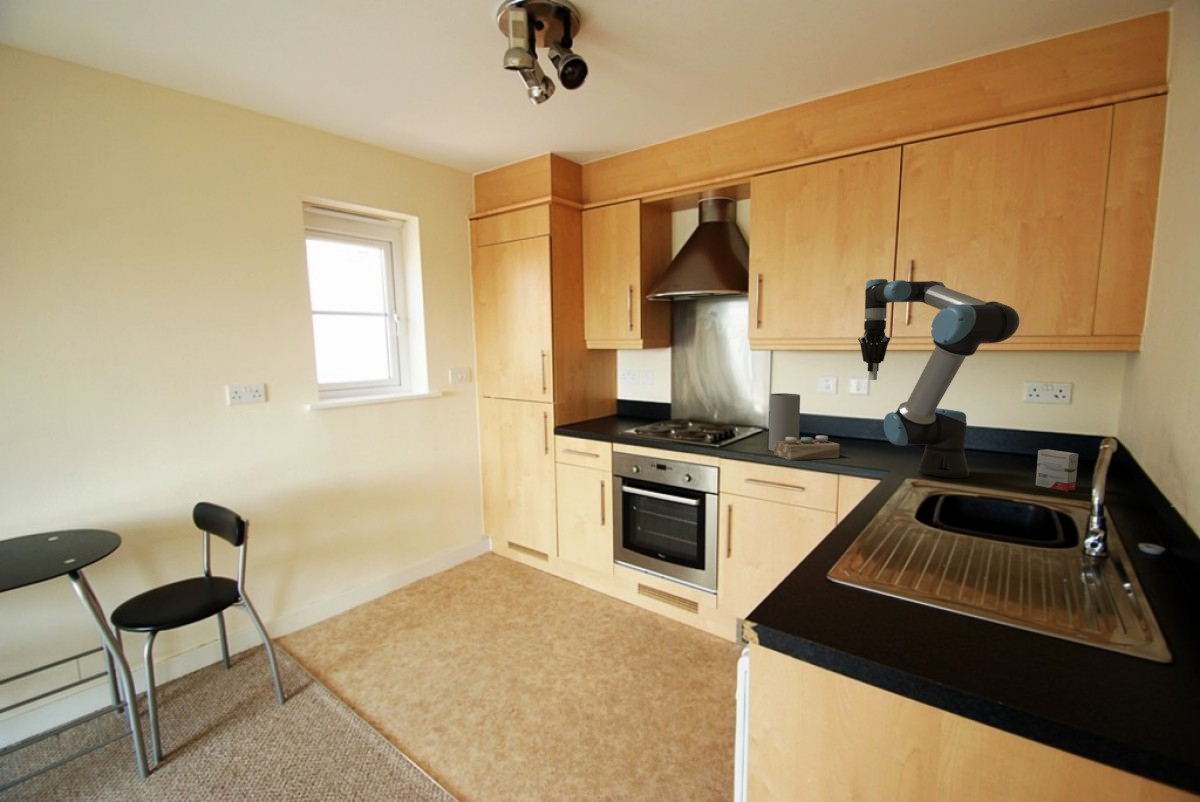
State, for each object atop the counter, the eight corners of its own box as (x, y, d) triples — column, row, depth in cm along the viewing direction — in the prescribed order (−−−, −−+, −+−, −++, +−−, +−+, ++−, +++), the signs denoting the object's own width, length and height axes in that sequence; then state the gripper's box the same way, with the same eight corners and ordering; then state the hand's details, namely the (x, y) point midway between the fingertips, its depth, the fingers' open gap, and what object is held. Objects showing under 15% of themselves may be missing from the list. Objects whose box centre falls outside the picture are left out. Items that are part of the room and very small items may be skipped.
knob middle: (814, 456, 209) (815, 438, 208) (804, 457, 208) (805, 439, 208) (807, 454, 214) (808, 436, 213) (798, 454, 213) (798, 437, 212)
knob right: (829, 454, 210) (830, 436, 210) (819, 455, 210) (820, 437, 209) (822, 452, 215) (823, 435, 214) (813, 453, 214) (813, 435, 213)
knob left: (799, 456, 208) (799, 438, 207) (789, 457, 207) (789, 438, 206) (792, 454, 212) (793, 436, 212) (782, 454, 211) (783, 437, 211)
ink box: (1076, 490, 159) (1079, 453, 158) (1067, 491, 157) (1070, 454, 156) (1043, 483, 167) (1046, 448, 165) (1034, 485, 165) (1037, 449, 164)
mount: (839, 458, 207) (839, 444, 207) (790, 461, 203) (790, 446, 203) (820, 452, 219) (821, 439, 218) (774, 455, 215) (774, 441, 214)
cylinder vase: (763, 448, 230) (764, 393, 227) (789, 447, 231) (790, 393, 229) (777, 454, 217) (778, 396, 215) (804, 452, 219) (806, 395, 217)
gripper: (882, 320, 204) (880, 378, 206) (854, 320, 201) (851, 379, 203) (896, 319, 196) (894, 379, 199) (867, 319, 194) (864, 380, 196)
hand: (872, 379), depth 201 cm, fingers closed
